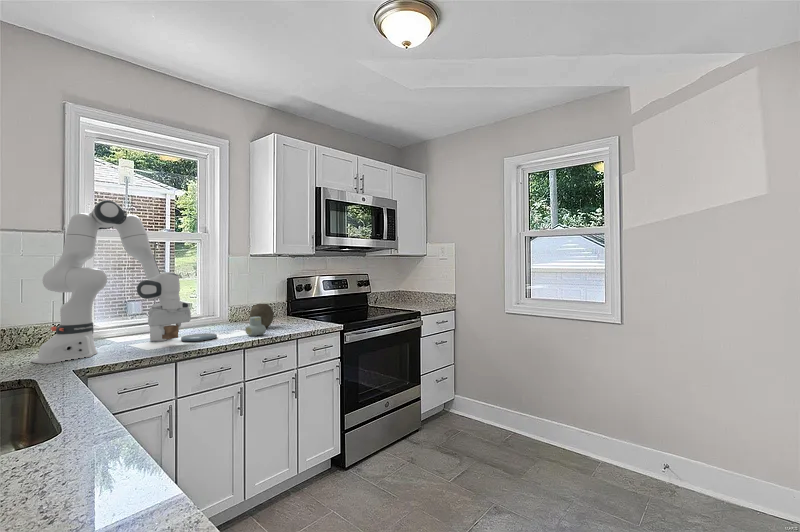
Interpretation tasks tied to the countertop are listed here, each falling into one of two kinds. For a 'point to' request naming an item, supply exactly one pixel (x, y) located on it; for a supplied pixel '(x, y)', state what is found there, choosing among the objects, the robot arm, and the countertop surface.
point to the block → (170, 332)
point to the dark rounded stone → (263, 313)
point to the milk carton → (156, 331)
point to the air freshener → (255, 327)
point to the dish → (198, 337)
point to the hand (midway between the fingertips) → (170, 333)
